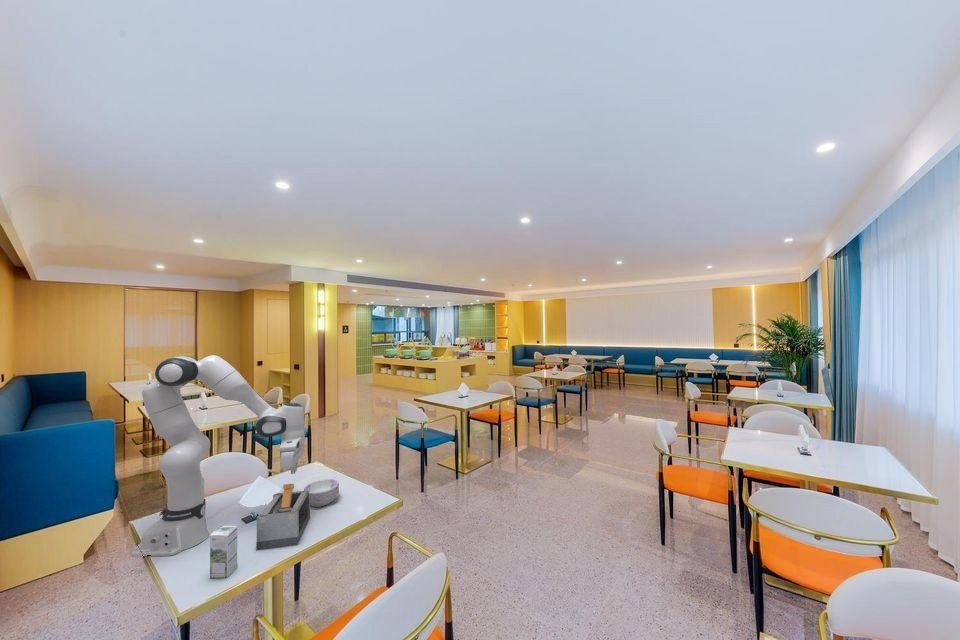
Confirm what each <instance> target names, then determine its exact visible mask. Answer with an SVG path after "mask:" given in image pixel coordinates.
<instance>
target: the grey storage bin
mask: <svg viewBox="0 0 960 640" xmlns="http://www.w3.org/2000/svg"><path fill="white" fill-rule="evenodd" d="M282 499H283V492H277V493H274V494H273V495H272V500H271V501H270V502H269V504H268V505H267V506H266V508H265V509H264V510H263V512H262V513H261V514H259V515H257V517H256V543H255V545H256V547H255V551H265V550H271V549H278V548H279V549H280V548H286V547H287V548H288V547H294V546H298V545H299V542H300V541H301V538H302V536H303V534H304V531H305V530H306V528H307V525H308V523H309V520H310V519H311V505H310V490H305V491H304V490H301V491H292V498H291V506H290V507H289V508H292V510H291V512H285V513H279V509H282V508H281V505H282Z"/></svg>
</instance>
